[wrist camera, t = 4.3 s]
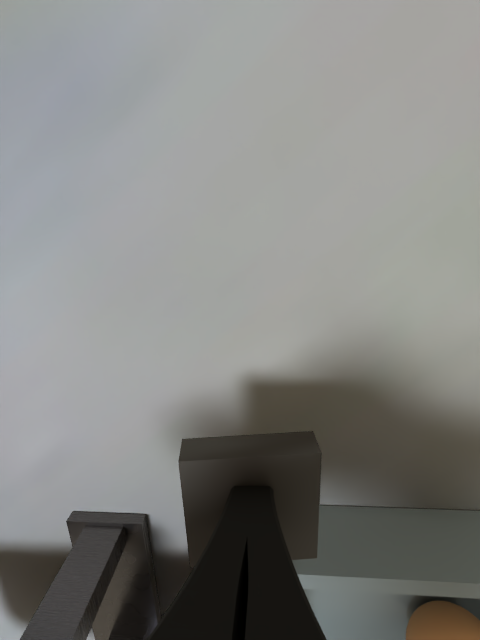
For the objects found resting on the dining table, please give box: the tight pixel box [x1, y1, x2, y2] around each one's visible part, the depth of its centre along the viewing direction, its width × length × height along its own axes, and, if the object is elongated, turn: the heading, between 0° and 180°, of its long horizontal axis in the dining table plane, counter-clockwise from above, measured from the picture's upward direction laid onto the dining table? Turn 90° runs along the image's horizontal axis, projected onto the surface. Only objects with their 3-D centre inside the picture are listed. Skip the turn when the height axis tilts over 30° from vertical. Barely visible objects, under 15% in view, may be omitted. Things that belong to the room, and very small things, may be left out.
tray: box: [292, 505, 480, 640], centre depth 17 cm, size 12×12×4 cm
